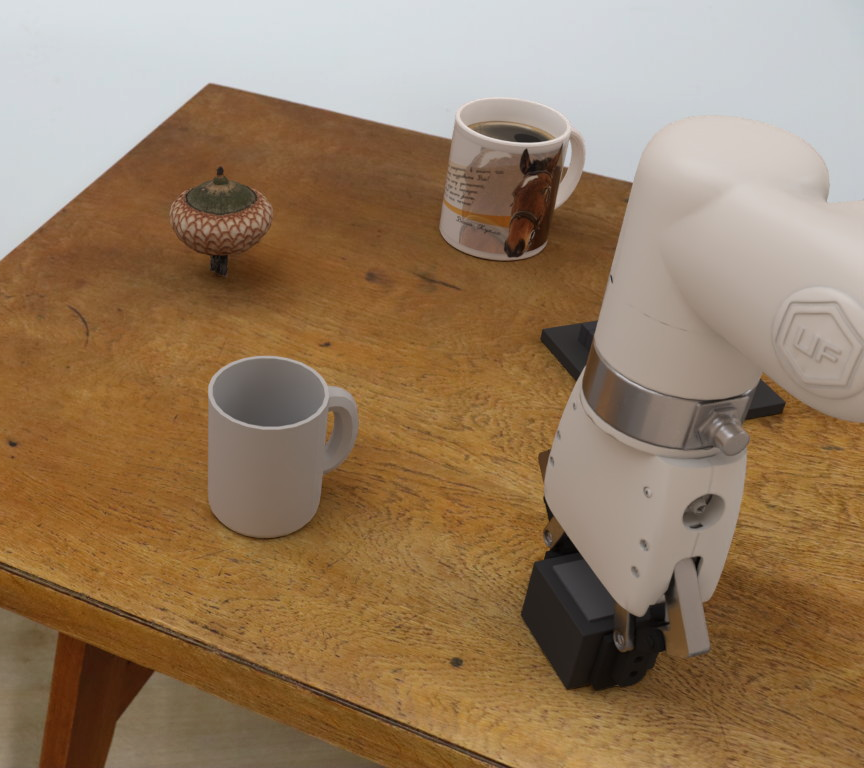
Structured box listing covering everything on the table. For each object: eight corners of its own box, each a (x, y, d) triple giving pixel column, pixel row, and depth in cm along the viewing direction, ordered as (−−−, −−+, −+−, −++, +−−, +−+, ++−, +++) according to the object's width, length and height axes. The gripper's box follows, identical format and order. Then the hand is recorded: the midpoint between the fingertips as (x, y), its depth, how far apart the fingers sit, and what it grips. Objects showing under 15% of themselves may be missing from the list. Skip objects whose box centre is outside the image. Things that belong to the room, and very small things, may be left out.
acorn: (289, 284, 92) (295, 175, 86) (204, 313, 88) (204, 201, 82) (234, 241, 97) (236, 135, 91) (152, 267, 93) (148, 158, 87)
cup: (190, 480, 72) (189, 371, 67) (326, 443, 76) (336, 336, 71) (234, 554, 67) (237, 442, 62) (378, 510, 71) (392, 400, 66)
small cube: (653, 668, 62) (675, 611, 59) (566, 690, 60) (584, 633, 57) (602, 596, 66) (620, 540, 63) (519, 615, 64) (534, 558, 62)
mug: (444, 198, 106) (460, 87, 99) (571, 215, 104) (596, 103, 97) (434, 252, 97) (451, 135, 91) (572, 272, 96) (600, 154, 89)
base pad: (782, 413, 81) (793, 385, 80) (627, 442, 78) (636, 414, 76) (681, 317, 91) (689, 291, 89) (539, 339, 87) (545, 312, 86)
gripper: (858, 489, 47) (734, 748, 57) (637, 279, 59) (570, 522, 70) (706, 522, 45) (607, 783, 55) (511, 297, 57) (462, 545, 68)
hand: (587, 635), depth 63 cm, fingers closed on small cube, 5 cm apart
